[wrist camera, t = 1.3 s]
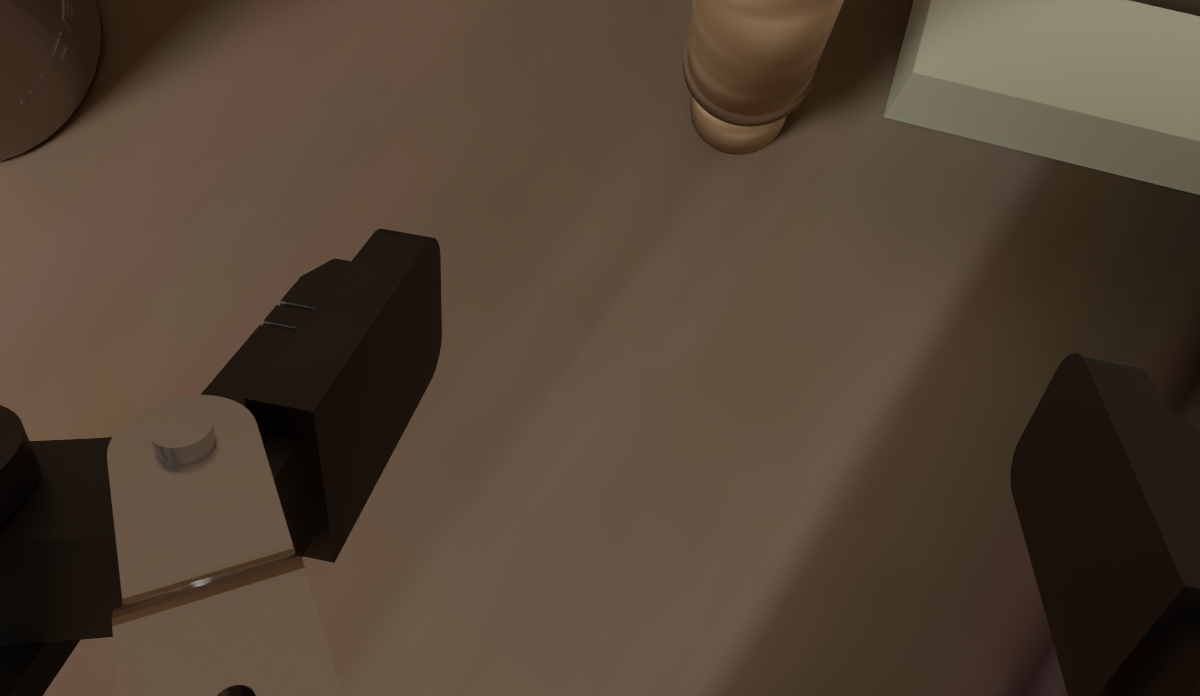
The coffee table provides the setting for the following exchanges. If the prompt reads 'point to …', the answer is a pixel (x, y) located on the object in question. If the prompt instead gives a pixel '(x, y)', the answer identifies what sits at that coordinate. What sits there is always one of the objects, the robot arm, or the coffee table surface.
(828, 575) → the coffee table surface
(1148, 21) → the white flat square block
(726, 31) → the peg
